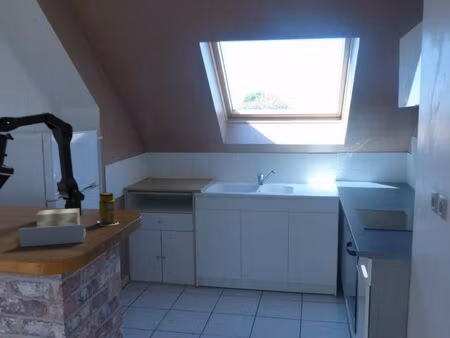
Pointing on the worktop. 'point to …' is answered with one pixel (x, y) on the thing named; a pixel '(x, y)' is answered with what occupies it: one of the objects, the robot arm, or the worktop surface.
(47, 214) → the wide block
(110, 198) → the condiment
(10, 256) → the worktop surface
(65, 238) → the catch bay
